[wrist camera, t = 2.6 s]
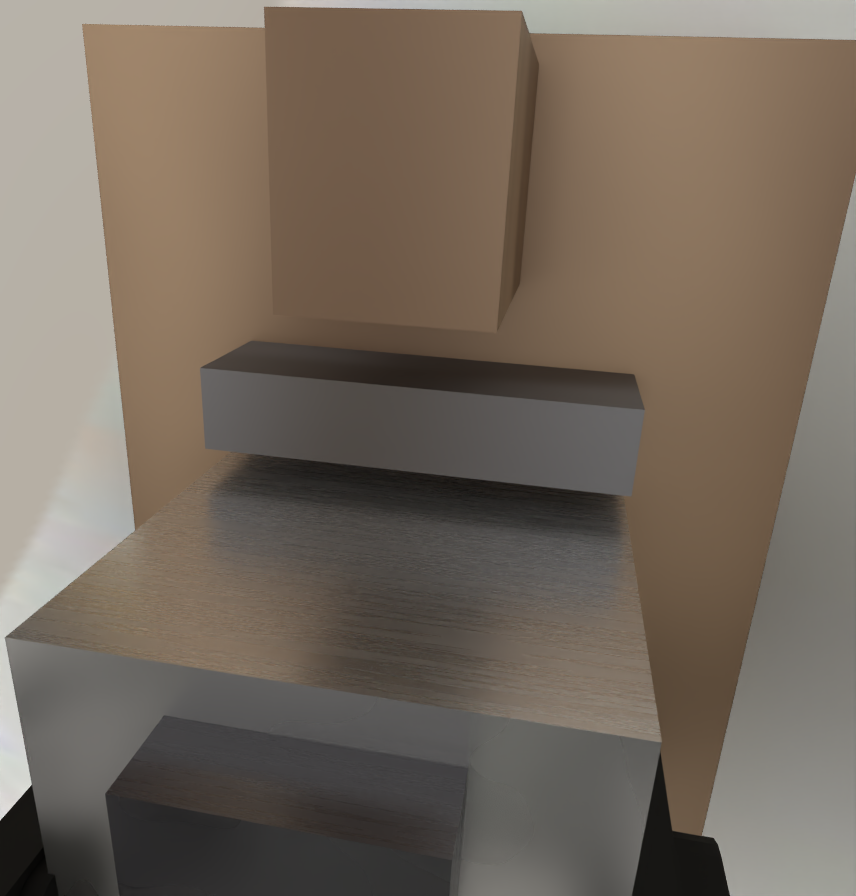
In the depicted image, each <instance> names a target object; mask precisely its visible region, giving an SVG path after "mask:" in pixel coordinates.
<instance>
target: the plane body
mask: <svg viewBox="0 0 856 896" xmlns="http://www.w3.org/2000/svg"><path fill="white" fill-rule="evenodd" d="M264 18H265V28H245V27H198V26H197V27H194V26H150V25H101V24H100V25H99V24H82V26H83V36H84V46H85V55H86V65H87V74H88V84H89V93H90V103H91V112H92V122H93V132H94V141H95V151H96V159H97V170H98V179H99V188H100V198H101V208H102V217H103V227H104V236H105V245H106V256H107V265H108V275H109V284H110V293H111V302H112V313H113V322H114V332H115V341H116V351H117V360H118V370H119V380H120V389H121V399H122V408H123V418H124V427H125V437H126V446H127V456H128V465H129V475H130V484H131V494H132V504H133V513H134V523H135V530H136V529H138V528H139V527H140V526H141V525H142V524H144V523H145V522H146V521H147V520H149V519H150V518H151V517H152V516H153V515H155V514H156V513H157V512H158V511H159V510H161V509H162V508H163V507H164V506H166V505H167V504H168V503H169V502H170V501H172V500H173V499H174V498H175V497H177V496H178V495H179V494H180V493H181V492H183V491H184V490H185V489H186V488H188V487H189V486H190V485H191V484H192V483H194V482H195V481H196V480H197V479H198V478H200V477H201V476H202V475H203V474H205V473H206V472H207V471H208V470H209V469H211V468H212V467H213V466H214V465H216V464H217V463H218V462H219V461H220V460H222V459H223V458H224V457H225V456H226V455H228V454H229V453H230V452H239V453H248V454H256V455H265V456H274V457H283V458H292V459H301V460H310V461H319V462H328V463H337V464H346V465H355V466H363V467H372V468H381V469H390V470H399V471H408V472H417V473H426V474H435V475H444V476H453V477H462V478H470V479H479V480H488V481H497V482H506V483H515V484H524V485H533V486H542V487H551V488H560V489H569V490H577V491H586V492H595V493H604V494H613V495H622V496H624V501H625V507H626V514H627V520H628V527H629V533H630V540H631V546H632V553H633V559H634V566H635V572H636V579H637V585H638V592H639V598H640V605H641V611H642V617H643V624H644V630H645V637H646V643H647V650H648V656H649V663H650V669H651V676H652V682H653V689H654V695H655V702H656V708H657V715H658V721H659V728H660V734H661V741H662V744H661V749H660V752H661V758H662V765H663V772H664V778H665V785H666V792H667V799H668V805H669V812H670V819H671V825H672V831H676V832H682V833H688V834H693V835H699V836H702V832H703V828H704V823H705V819H706V815H707V811H708V806H709V802H710V798H711V793H712V789H713V785H714V780H715V776H716V772H717V768H718V763H719V759H720V755H721V750H722V746H723V742H724V737H725V733H726V729H727V725H728V720H729V716H730V712H731V707H732V703H733V699H734V695H735V690H736V686H737V682H738V677H739V673H740V669H741V664H742V660H743V656H744V652H745V647H746V643H747V639H748V634H749V630H750V626H751V621H752V617H753V613H754V609H755V604H756V600H757V596H758V591H759V587H760V583H761V578H762V574H763V570H764V566H765V561H766V557H767V553H768V548H769V544H770V540H771V535H772V531H773V527H774V523H775V518H776V514H777V510H778V505H779V501H780V497H781V493H782V488H783V484H784V480H785V475H786V471H787V467H788V462H789V458H790V454H791V450H792V445H793V441H794V437H795V432H796V428H797V424H798V419H799V415H800V411H801V407H802V402H803V398H804V394H805V389H806V385H807V381H808V376H809V372H810V368H811V364H812V359H813V355H814V351H815V346H816V342H817V338H818V333H819V329H820V325H821V321H822V316H823V312H824V308H825V303H826V299H827V295H828V291H829V286H830V282H831V278H832V273H833V269H834V265H835V260H836V256H837V252H838V248H839V243H840V239H841V235H842V230H843V226H844V222H845V217H846V213H847V209H848V205H849V200H850V196H851V192H852V187H853V183H854V179H855V174H856V40H824V39H776V38H728V37H680V36H631V35H583V34H535V33H529V31H528V28H527V25H526V22H525V19H524V16H523V13H522V11H489V10H428V9H366V8H305V7H264Z"/></svg>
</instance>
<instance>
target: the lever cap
mask: <svg viewBox="0 0 856 896" xmlns="http://www.w3.org/2000/svg"><path fill="white" fill-rule="evenodd" d="M5 641H6V646H7V651H8V657H9V662H10V668H11V673H12V679H13V684H14V689H15V695H16V700H17V706H18V711H19V717H20V722H21V727H22V733H23V738H24V744H25V749H26V755H27V760H28V765H29V771H30V776H31V782H32V787H33V792H34V798H35V803H36V809H37V814H38V820H39V825H40V830H41V836H42V841H43V847H44V852H45V858H46V863H47V868H48V873H50V874H54V875H55V878H56V884H57V889H58V895H59V896H632V892H633V887H634V882H635V877H636V872H637V866H638V861H639V856H640V851H641V846H642V841H643V836H644V831H645V826H646V821H647V815H648V810H649V805H650V800H651V795H652V790H653V785H654V780H655V775H656V770H657V764H658V759H659V754H660V749H661V744H662V741H661V734H660V728H659V721H658V715H657V708H656V702H655V695H654V689H653V682H652V676H651V669H650V663H649V656H648V650H647V643H646V637H645V630H644V624H643V617H642V611H641V605H640V598H639V592H638V585H637V579H636V572H635V566H634V559H633V553H632V546H631V540H630V533H629V527H628V520H627V514H626V507H625V501H624V496H622V495H613V494H604V493H595V492H586V491H577V490H569V489H560V488H551V487H542V486H533V485H524V484H515V483H506V482H497V481H488V480H479V479H470V478H462V477H453V476H444V475H435V474H426V473H417V472H408V471H399V470H390V469H381V468H372V467H363V466H355V465H346V464H337V463H328V462H319V461H310V460H301V459H292V458H283V457H274V456H265V455H256V454H248V453H239V452H230V453H229V454H228V455H226V456H225V457H224V458H223V459H222V460H220V461H219V462H218V463H217V464H216V465H214V466H213V467H212V468H211V469H209V470H208V471H207V472H206V473H205V474H203V475H202V476H201V477H200V478H198V479H197V480H196V481H195V482H194V483H192V484H191V485H190V486H189V487H188V488H186V489H185V490H184V491H183V492H181V493H180V494H179V495H178V496H177V497H175V498H174V499H173V500H172V501H170V502H169V503H168V504H167V505H166V506H164V507H163V508H162V509H161V510H159V511H158V512H157V513H156V514H155V515H153V516H152V517H151V518H150V519H149V520H147V521H146V522H145V523H144V524H142V525H141V526H140V527H139V528H138V529H136V530H135V531H134V532H133V533H131V534H130V535H129V536H128V537H127V538H125V539H124V540H123V541H122V542H121V543H119V544H118V545H117V546H116V547H114V548H113V549H112V550H111V551H110V552H108V553H107V554H106V555H105V556H103V557H102V558H101V559H100V560H99V561H97V562H96V563H95V564H94V565H93V566H91V567H90V568H89V569H88V570H86V571H85V572H84V573H83V574H82V575H80V576H79V577H78V578H77V579H75V580H74V581H73V582H72V583H71V584H69V585H68V586H67V587H66V588H65V589H63V590H62V591H61V592H60V593H58V594H57V595H56V596H55V597H54V598H52V599H51V600H50V601H49V602H47V603H46V604H45V605H44V606H43V607H41V608H40V609H39V610H38V611H37V612H35V613H34V614H33V615H32V616H30V617H29V618H28V619H27V620H26V621H24V622H23V623H22V624H21V625H19V626H18V627H17V628H16V629H15V630H13V631H12V632H11V633H10V634H8V635H7V636H6V637H5Z"/></svg>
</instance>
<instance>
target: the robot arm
mask: <svg viewBox="0 0 856 896" xmlns="http://www.w3.org/2000/svg"><path fill="white" fill-rule="evenodd" d="M0 896H59V895H58V889H57V884H56V878H55V875H54V874H50V873H48V868H47V863H46V858H45V852H44V847H43V841H42V836H41V830H40V825H39V820H38V814H37V809H36V803H35V798H34V792H33V787H32V785H31V786H30V788H29V789H28V790H27V791H26V792H25V793H24V794H23V796H22V797H21V798H20V799H19V800H18V801H17V802H16V804H15V805H14V806H13V807H12V808H11V809H10V810H9V811H8V813H7V814H6V815H5V816H4V817H3V818H2V819H1V821H0ZM632 896H730V895H729V890H728V886H727V881H726V876H725V872H724V867H723V862H722V858H721V854H720V851H719V847H718V844H717V843H716V841H715V839H714V838H710V837H705V836H699V835H693V834H688V833H682V832H676V831H672V825H671V819H670V812H669V805H668V799H667V792H666V785H665V778H664V772H663V765H662V758H661V752H660V754H659V759H658V764H657V770H656V775H655V780H654V785H653V790H652V795H651V800H650V805H649V810H648V815H647V821H646V826H645V831H644V836H643V841H642V846H641V851H640V856H639V861H638V866H637V872H636V877H635V882H634V887H633V892H632Z"/></svg>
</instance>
